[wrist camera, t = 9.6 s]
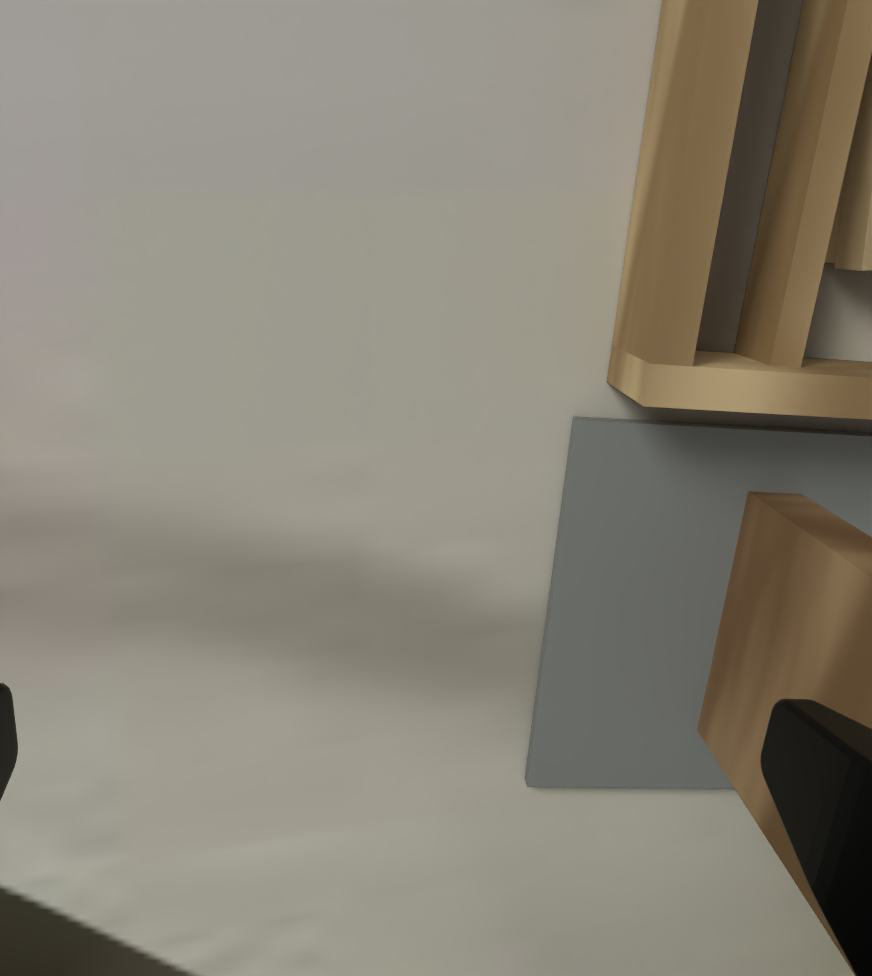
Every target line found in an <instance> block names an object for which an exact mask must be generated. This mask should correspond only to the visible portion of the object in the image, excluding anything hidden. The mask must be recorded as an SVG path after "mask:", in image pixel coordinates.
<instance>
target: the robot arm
mask: <svg viewBox="0 0 872 976" xmlns="http://www.w3.org/2000/svg"><path fill="white" fill-rule="evenodd" d="M17 754H18V742H17V733H16V724H15V716H14V707H13V698H12V694H11V691H10V689H9V687H8V686H6V685H5V684H4V683H0V800H1V798H2V796H3V793H4V791H5V789H6V786H7V784H8V781H9V779H10V777H11V774H12V772H13V769H14V767H15V763H16V760H17ZM760 763H761V770H762V774H763V777H764V780H765V782H766V785H767V787H768V789H769V792H770V794H771V797H772V799H773V801H774V804H775V806H776V809H777V811H778V813H779V816H780V818H781V821H782V823H783V825H784V828H785V830H786V833H787V835H788V837H789V840H790V842H791V845H792V847H793V849H794V852H795V854H796V857H797V859H798V861H799V864H800V866H801V869H802V871H803V873H804V876H805V878H806V880H807V882H808V884H809V887H810V889H811V891H812V893H813V895H814V897H815V899H816V901H817V903H818V905H819V907H820V909H821V911H822V913H823V915H824V917H825V919H826V920H827V922H828V924H829V926H830V928H831V930H832V932H833V933H834V935H835V937H836V939H837V941H838V943H839V945H840V947H841V948H842V950H843V952H844V954H845V956H846V958H847V960H848V962H849V963H850V965H851V967H852V969H853V971H854V973H855V975H856V976H872V729H871V728H869V727H867V726H865V725H863V724H861V723H859V722H857V721H855V720H853V719H851V718H849V717H847V716H844V715H842V714H840V713H838V712H836V711H834V710H832V709H830V708H828V707H826V706H824V705H822V704H820V703H818V702H816V701H814V700H809V699H780V700H779V701H777V702H776V703H775V704H774V706H773V708H772V711H771V715H770V719H769V723H768V727H767V731H766V735H765V739H764V743H763V747H762V751H761V758H760Z"/></svg>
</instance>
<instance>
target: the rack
mask: <svg viewBox="0 0 872 976" xmlns="http://www.w3.org/2000/svg"><path fill="white" fill-rule="evenodd" d="M757 6H758V0H662V7H661V14H660V21H659V28H658V34H657V41H656V48H655V55H654V62H653V69H652V76H651V82H650V89H649V96H648V103H647V110H646V117H645V124H644V130H643V137H642V144H641V151H640V158H639V165H638V172H637V178H636V185H635V192H634V199H633V206H632V213H631V220H630V226H629V233H628V240H627V247H626V254H625V261H624V268H623V274H622V281H621V288H620V295H619V302H618V309H617V316H616V322H615V329H614V336H613V343H612V350H611V357H610V364H609V370H608V377H607V383H609V384H610V385H612V386H613V387H615V388H616V389H618V390H619V391H621V392H622V393H624V394H625V395H627V396H629V397H630V398H632V399H633V400H635V401H636V402H638V403H639V404H641V405H642V406H644V407H662V408H679V409H696V410H713V411H731V412H748V413H765V414H783V415H800V416H817V417H834V418H852V419H869V420H872V362H862V361H846V360H831V359H816V358H803V356H804V351H805V347H806V342H807V338H808V333H809V329H810V324H811V320H812V316H813V311H814V307H815V302H816V298H817V293H818V289H819V284H820V280H821V276H822V271H823V267H824V262H825V258H826V253H827V249H828V245H829V240H830V236H831V231H832V227H833V222H834V218H835V213H836V209H837V205H838V200H839V196H840V191H841V187H842V182H843V178H844V173H845V169H846V165H847V160H848V156H849V151H850V147H851V142H852V138H853V133H854V129H855V125H856V120H857V116H858V111H859V107H860V102H861V98H862V93H863V89H864V85H865V80H866V76H867V71H868V67H869V62H870V58H871V53H872V0H803V4H802V9H801V14H800V19H799V24H798V29H797V35H796V40H795V45H794V50H793V55H792V60H791V65H790V70H789V75H788V80H787V86H786V91H785V96H784V101H783V106H782V111H781V116H780V121H779V126H778V131H777V136H776V142H775V147H774V152H773V157H772V162H771V167H770V172H769V177H768V182H767V187H766V192H765V198H764V203H763V208H762V213H761V218H760V223H759V228H758V233H757V238H756V243H755V249H754V254H753V259H752V264H751V269H750V274H749V279H748V284H747V289H746V294H745V299H744V305H743V310H742V315H741V320H740V325H739V330H738V335H737V340H736V345H735V350H734V353H724V352H709V351H695V350H696V344H697V339H698V333H699V327H700V322H701V316H702V311H703V305H704V300H705V294H706V289H707V283H708V278H709V272H710V266H711V261H712V255H713V250H714V244H715V239H716V233H717V228H718V222H719V217H720V211H721V205H722V200H723V194H724V189H725V183H726V178H727V172H728V167H729V161H730V156H731V150H732V144H733V139H734V133H735V128H736V122H737V117H738V111H739V106H740V100H741V94H742V89H743V83H744V78H745V72H746V67H747V61H748V56H749V50H750V45H751V39H752V33H753V28H754V22H755V17H756V11H757Z"/></svg>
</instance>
